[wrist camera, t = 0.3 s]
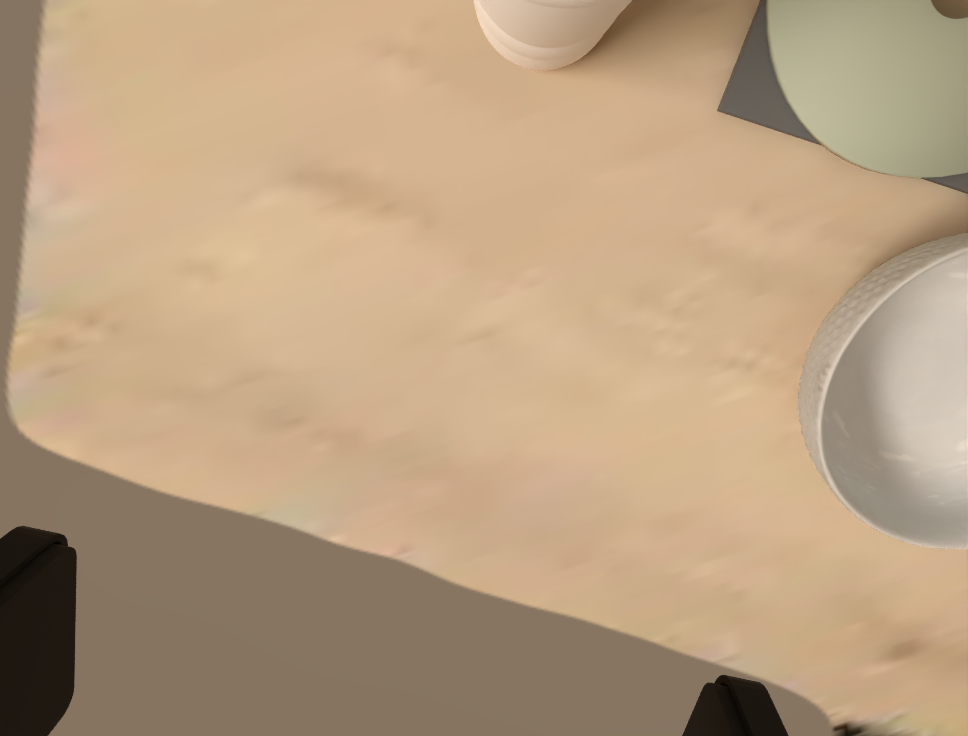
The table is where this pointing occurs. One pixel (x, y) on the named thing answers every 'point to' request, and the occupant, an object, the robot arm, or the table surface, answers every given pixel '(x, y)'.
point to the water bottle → (546, 28)
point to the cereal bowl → (896, 396)
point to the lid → (877, 79)
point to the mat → (776, 94)
